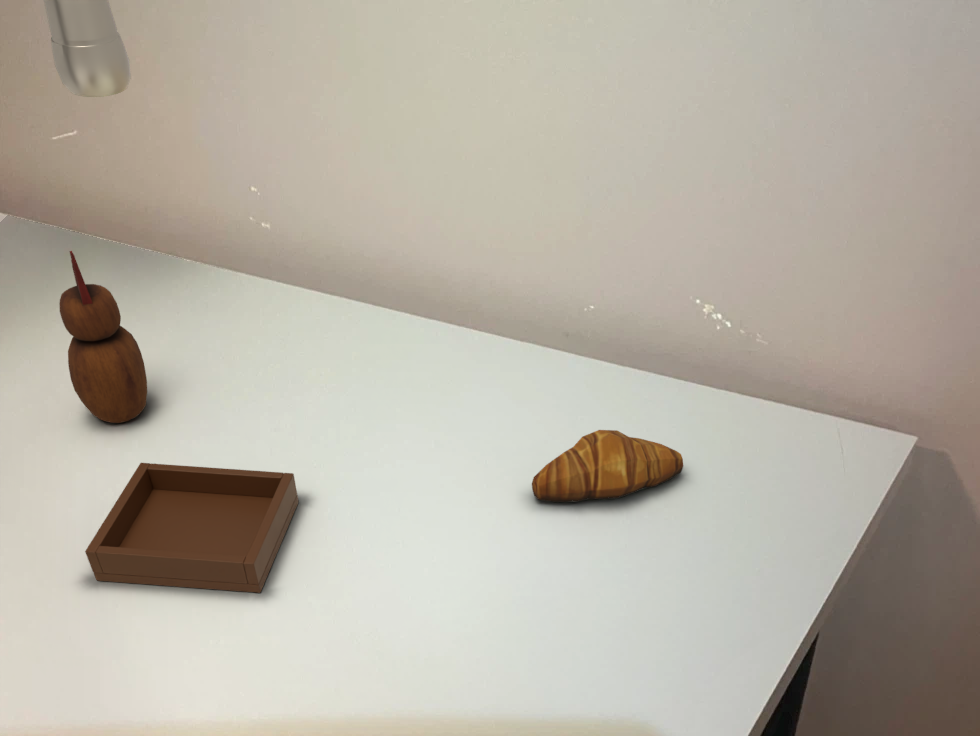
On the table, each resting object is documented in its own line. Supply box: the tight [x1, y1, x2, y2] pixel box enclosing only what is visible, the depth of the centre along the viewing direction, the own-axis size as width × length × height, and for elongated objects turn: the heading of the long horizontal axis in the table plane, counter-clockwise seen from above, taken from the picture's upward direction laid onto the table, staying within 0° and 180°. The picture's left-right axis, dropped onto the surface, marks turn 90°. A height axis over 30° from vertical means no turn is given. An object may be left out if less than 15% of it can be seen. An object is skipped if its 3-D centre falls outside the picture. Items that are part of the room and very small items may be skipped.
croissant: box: [531, 429, 684, 503], centre depth 84 cm, size 14×7×5 cm, turn 109°
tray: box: [84, 462, 300, 594], centre depth 79 cm, size 13×12×3 cm
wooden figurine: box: [58, 250, 148, 424], centre depth 87 cm, size 7×6×15 cm
